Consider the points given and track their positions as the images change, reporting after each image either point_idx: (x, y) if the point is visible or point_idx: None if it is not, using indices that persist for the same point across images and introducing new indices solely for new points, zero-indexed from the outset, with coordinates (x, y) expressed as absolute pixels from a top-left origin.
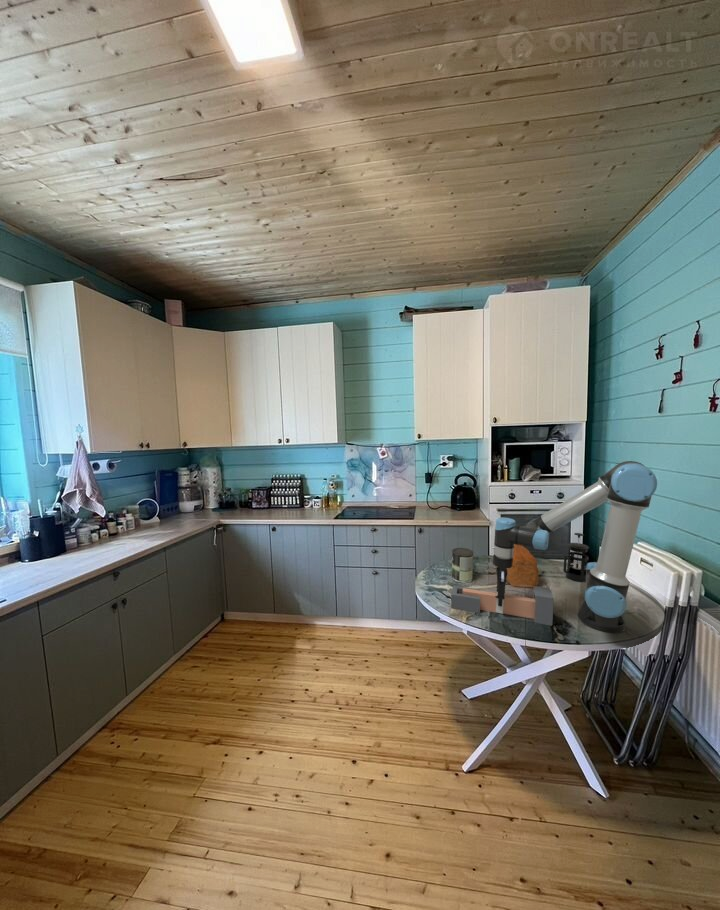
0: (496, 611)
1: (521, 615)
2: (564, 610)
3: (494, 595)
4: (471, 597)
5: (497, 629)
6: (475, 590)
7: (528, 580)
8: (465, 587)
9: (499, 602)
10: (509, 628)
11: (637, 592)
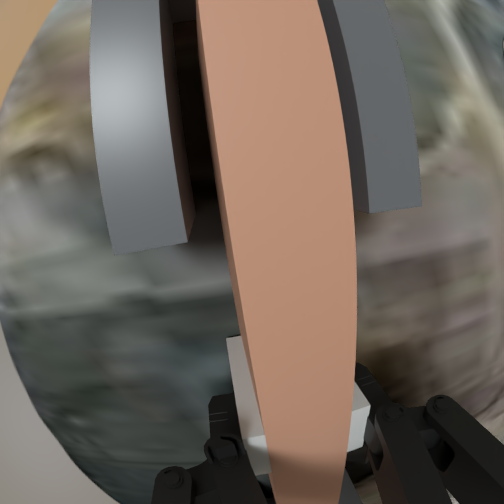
0: (227, 346)
1: None
2: (375, 496)
3: (276, 415)
4: (105, 123)
5: (35, 359)
6: (321, 141)
7: None
8: (385, 19)
9: (212, 431)
10: (90, 412)
11: None
